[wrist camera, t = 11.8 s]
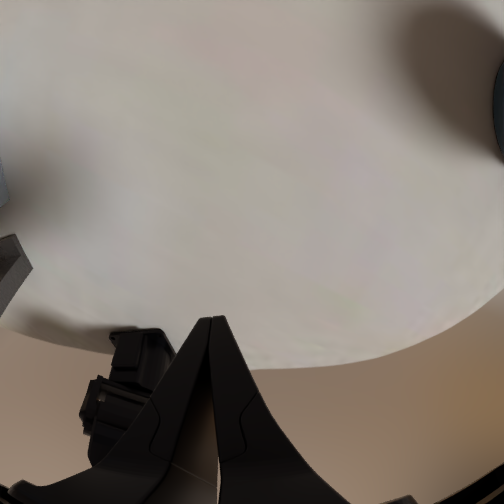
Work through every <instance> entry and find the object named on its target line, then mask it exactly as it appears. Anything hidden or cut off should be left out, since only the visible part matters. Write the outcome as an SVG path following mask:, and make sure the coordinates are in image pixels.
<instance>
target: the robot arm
mask: <svg viewBox="0 0 504 504" xmlns="http://www.w3.org/2000/svg"><path fill="white" fill-rule="evenodd" d="M109 339H110V340H111V342H112V343H113V344H114V346H115V347H116V349H115V353H114V356H113V359H112V363H111V366H112V368H111V372H110V375H109V379H106V378H103V376H100V375H98V376H97V379H95V380H90V383H89V386H88V390H87V393H86V396H85V398H84V401H83V404H82V406H81V409H80V412H79V417H80V418H81V420H82V422H83V425H82V426H83V427H84V430H83V434H85V435H87V436H90V442H89V448H88V458H89V460H90V463H91V465H92V468H90V469H87V470H85V471H83V472H80V473H78V474H76V475H73V476H71V477H69V478H66V479H64V480H61V481H59V482H56V483H53V484H51V485H47V486H36V485H34V484H32V483H29V482H27V481H25V480H20V481H19V482H17V483H15V484H13V485H12V487H10V488H8V487H6V486H4V485H2V484H0V504H217V488H216V487H217V474H218V457H219V463H220V475H221V484H220V493H219V502H218V504H350V503H349V502H348V501H347V500H346V499H344V498H343V497H342V496H341V495H340V494H339V493H338V492H336V491H335V490H334V489H333V488H332V487H331V486H330V485H329V484H328V483H326V482H325V481H324V480H323V479H322V478H321V477H320V476H319V475H318V474H317V473H316V472H315V471H314V470H313V469H312V468H311V467H310V466H309V464H307V462H306V461H305V460H304V458H303V457H302V456H301V455H300V453H299V452H298V451H297V449H296V448H295V447H294V446H293V444H292V443H291V442H290V440H289V439H288V438H287V436H286V435H285V434H284V432H283V431H282V430H281V428H280V427H279V425H278V424H277V422H276V421H275V419H274V418H273V416H272V415H271V413H270V411H269V409H268V407H267V406H266V404H265V402H264V400H263V398H262V396H261V394H260V392H259V390H258V388H257V386H256V383H255V381H254V379H253V377H252V375H251V373H250V371H249V369H248V366H247V364H246V362H245V360H244V358H243V356H242V353H241V351H240V349H239V347H238V345H237V342H236V340H235V338H234V336H233V333H232V331H231V329H230V327H229V324H228V322H227V320H226V317H225V316H224V315H220V316H213V317H203V318H200V319H199V320H198V321H197V323H196V324H195V326H194V328H193V329H192V331H191V332H190V334H189V335H188V337H187V339H186V340H185V342H184V343H183V345H182V346H181V348H180V350H179V351H178V353H177V354H176V353H175V351H174V349H173V347H172V345H171V344H170V342H169V340H168V338H167V337H166V335H165V333H164V332H163V331H162V330H146V331H131V332H114V333H110V335H109ZM99 400H102V401H99ZM380 504H418V503H417V502H416V500H415V499H414V498H413V497H412V496H411V495H406V496H403V497H400V498H397V499H394V500H390V501H387V502H384V503H380ZM434 504H504V463H502V464H500V465H499V466H497V467H496V468H494V469H493V470H491V471H489V472H488V473H486V474H485V475H483V476H482V477H480V478H479V479H477V480H476V481H474V482H472V483H471V484H469V485H467V486H466V487H464V488H462V489H461V490H459V491H457V492H455V493H453V494H451V495H450V496H448V497H446V498H444V499H442V500H440V501H438V502H436V503H434Z"/></svg>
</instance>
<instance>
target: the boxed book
mask: <svg viewBox="0 0 504 504" xmlns="http://www.w3.org/2000/svg"><path fill="white" fill-rule="evenodd" d="M9 200H10V199H9V195H8V191H7V187H6V183H5V179H4V174H3V169H2V164H1V159H0V207H2V206H3V205H4V204H5V203H6V202H8V201H9Z"/></svg>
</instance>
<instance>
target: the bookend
mask: <svg viewBox="0 0 504 504" xmlns="http://www.w3.org/2000/svg"><path fill="white" fill-rule="evenodd" d="M32 269H33V267H32V266H31V264H30V262H29V260H28V258H27V256H26V255H25V253H24V251H23V249H22V247H21V245H20V243H19V241H18V239H17V237H16V235H15V234H14V235H12V236H9V237H6V238H3V239H0V317H1V315H2V314H3V312H4V311H5V309H6V307H7V306H8V304H9V303H10V301H11V300H12V298H13V297H14V295H15V294H16V292H17V291H18V289H19V288H20V286H21V285H22V283H23V282H24V280H25V279H26V278H27V276H28V275H29V273H30V272H31V271H32Z"/></svg>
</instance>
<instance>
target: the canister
mask: <svg viewBox="0 0 504 504" xmlns="http://www.w3.org/2000/svg"><path fill="white" fill-rule="evenodd" d="M493 108H494V123H495V131H496V136H497V140H498V144H499V147H500V149H501V152H502V154H503V156H504V62H503V63H502V65H501V67H500V69H499V72H498V75H497V79H496V83H495V90H494V105H493Z"/></svg>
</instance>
